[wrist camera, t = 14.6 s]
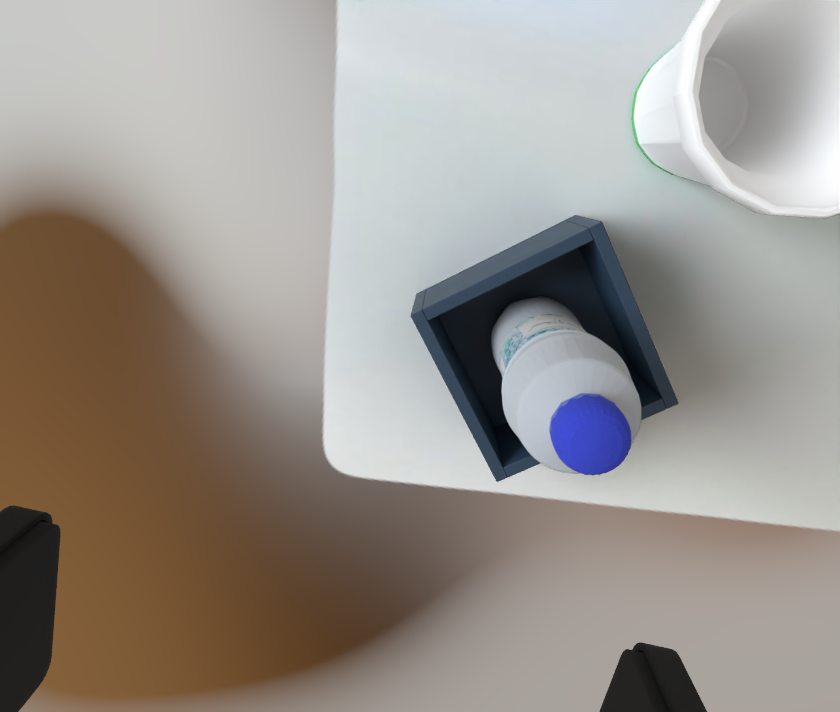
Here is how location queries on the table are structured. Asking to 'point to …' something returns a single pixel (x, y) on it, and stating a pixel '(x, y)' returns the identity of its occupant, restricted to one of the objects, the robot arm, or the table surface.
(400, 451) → the table surface
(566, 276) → the bin
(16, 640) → the robot arm
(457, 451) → the table surface
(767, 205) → the cup
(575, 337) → the bottle
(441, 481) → the table surface
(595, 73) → the table surface
